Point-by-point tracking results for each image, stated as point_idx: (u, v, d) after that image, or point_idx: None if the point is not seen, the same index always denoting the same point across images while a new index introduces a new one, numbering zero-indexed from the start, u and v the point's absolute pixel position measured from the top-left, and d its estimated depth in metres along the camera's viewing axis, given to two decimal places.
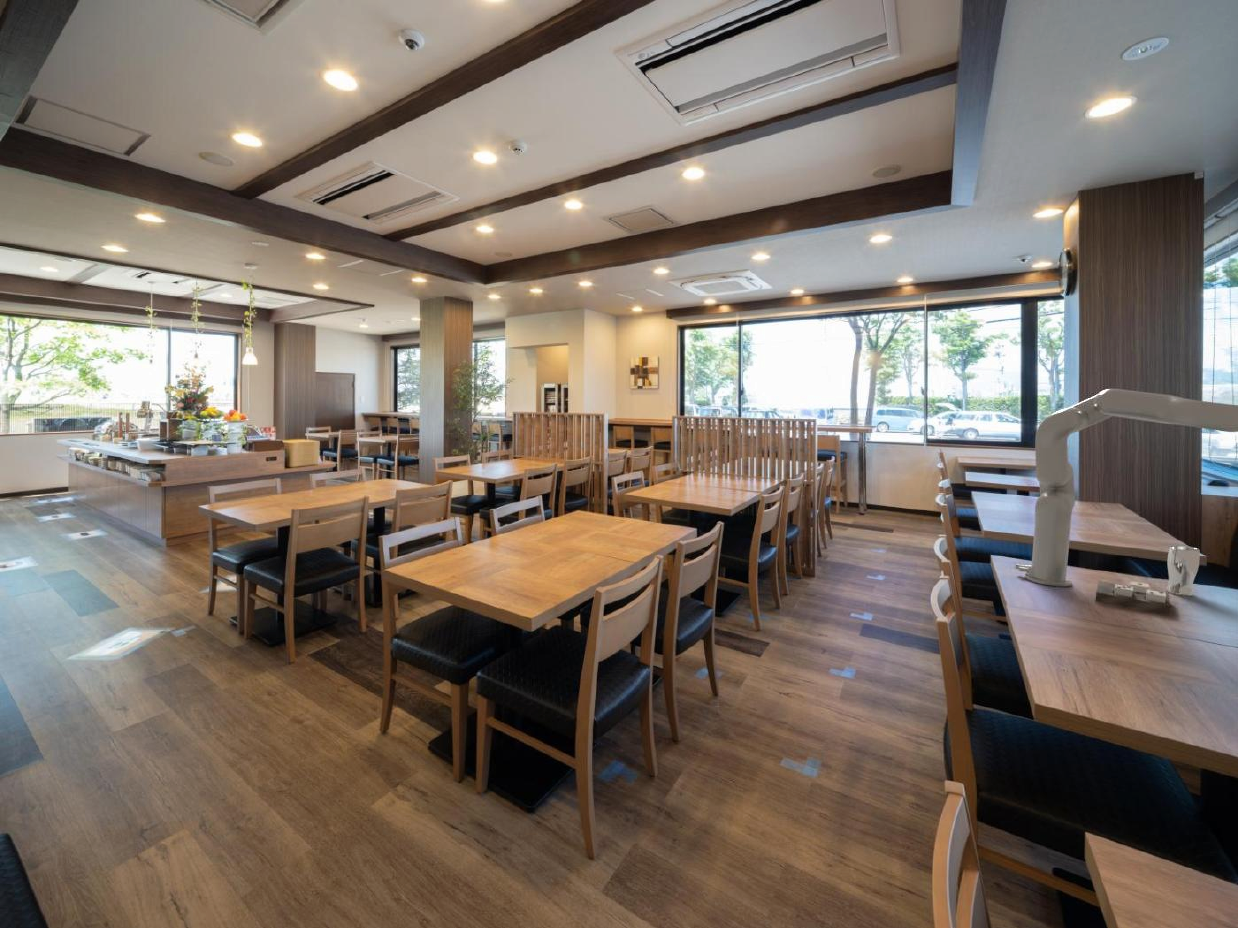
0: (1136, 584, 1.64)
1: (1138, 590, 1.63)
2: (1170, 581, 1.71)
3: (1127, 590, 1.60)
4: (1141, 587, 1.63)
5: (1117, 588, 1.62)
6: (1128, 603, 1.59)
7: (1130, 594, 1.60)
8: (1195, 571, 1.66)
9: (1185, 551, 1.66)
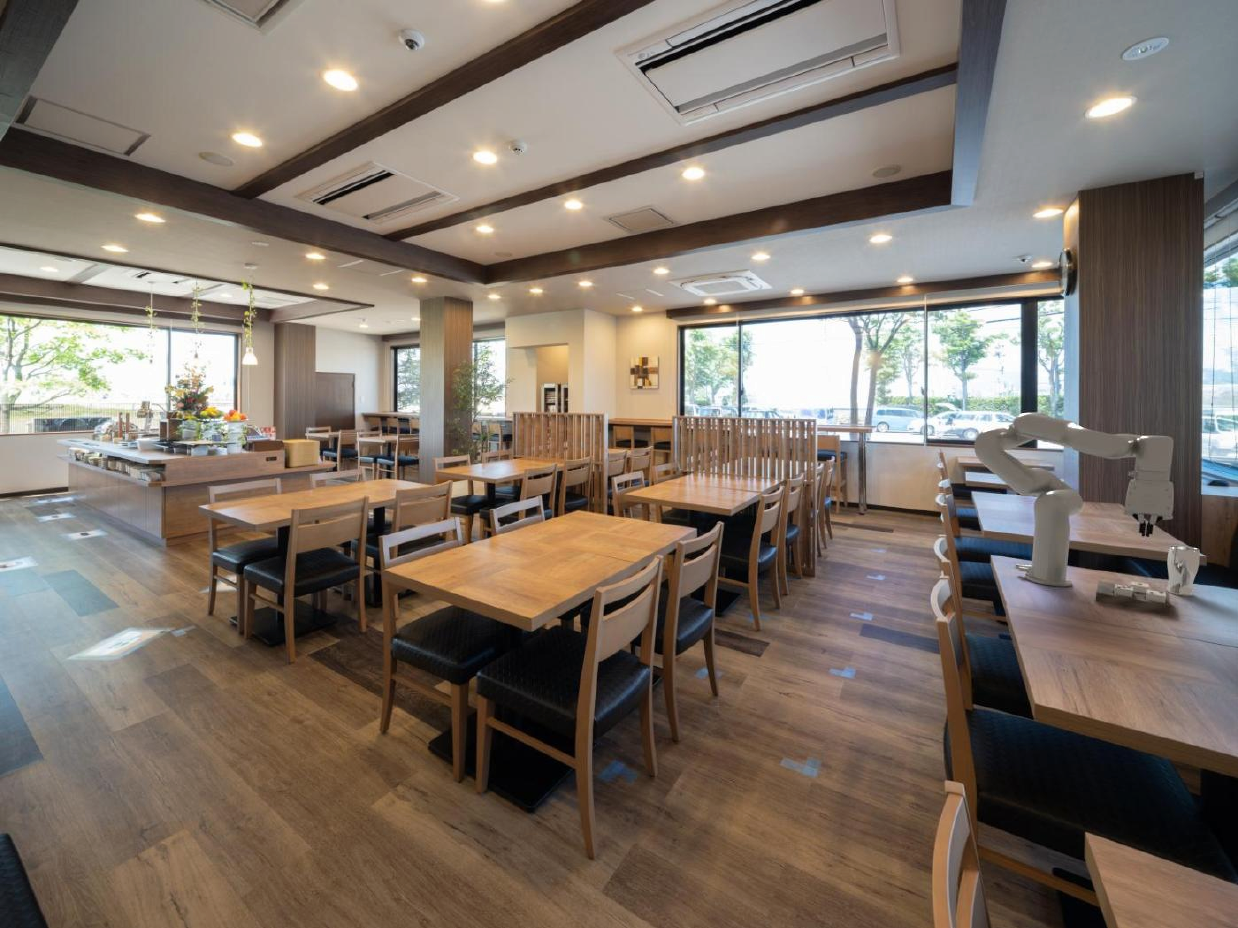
0: (1136, 584, 1.64)
1: (1138, 590, 1.63)
2: (1170, 581, 1.71)
3: (1127, 590, 1.60)
4: (1141, 587, 1.63)
5: (1117, 588, 1.62)
6: (1128, 603, 1.59)
7: (1130, 594, 1.60)
8: (1195, 571, 1.66)
9: (1185, 551, 1.66)
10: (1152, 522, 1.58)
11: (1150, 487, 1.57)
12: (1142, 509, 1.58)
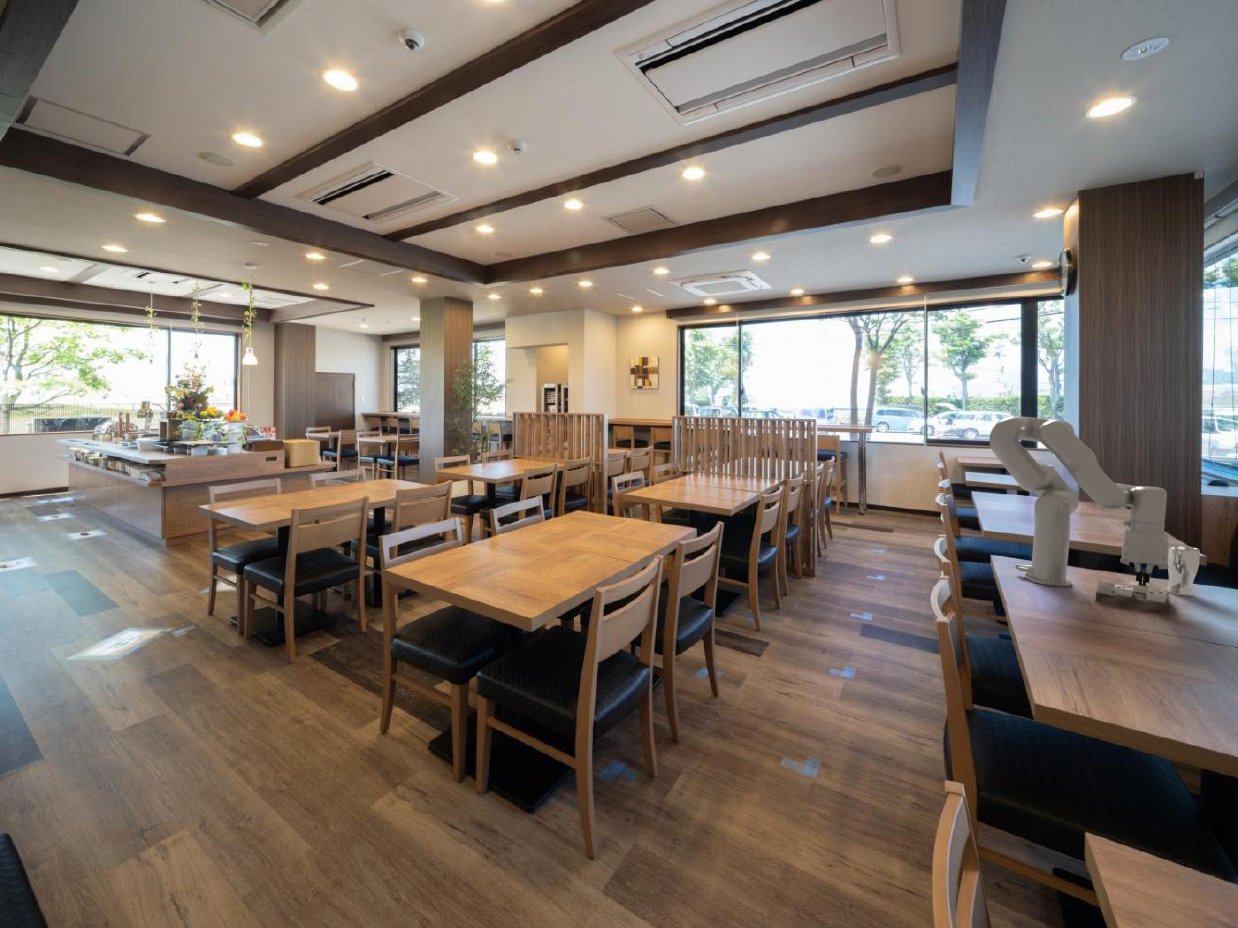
0: (1136, 584, 1.64)
1: (1138, 590, 1.63)
2: (1170, 581, 1.71)
3: (1127, 590, 1.60)
4: (1141, 587, 1.63)
5: (1117, 588, 1.62)
6: (1128, 603, 1.59)
7: (1130, 594, 1.60)
8: (1195, 571, 1.66)
9: (1185, 551, 1.66)
10: (1148, 571, 1.62)
11: (1145, 538, 1.61)
12: (1138, 558, 1.62)
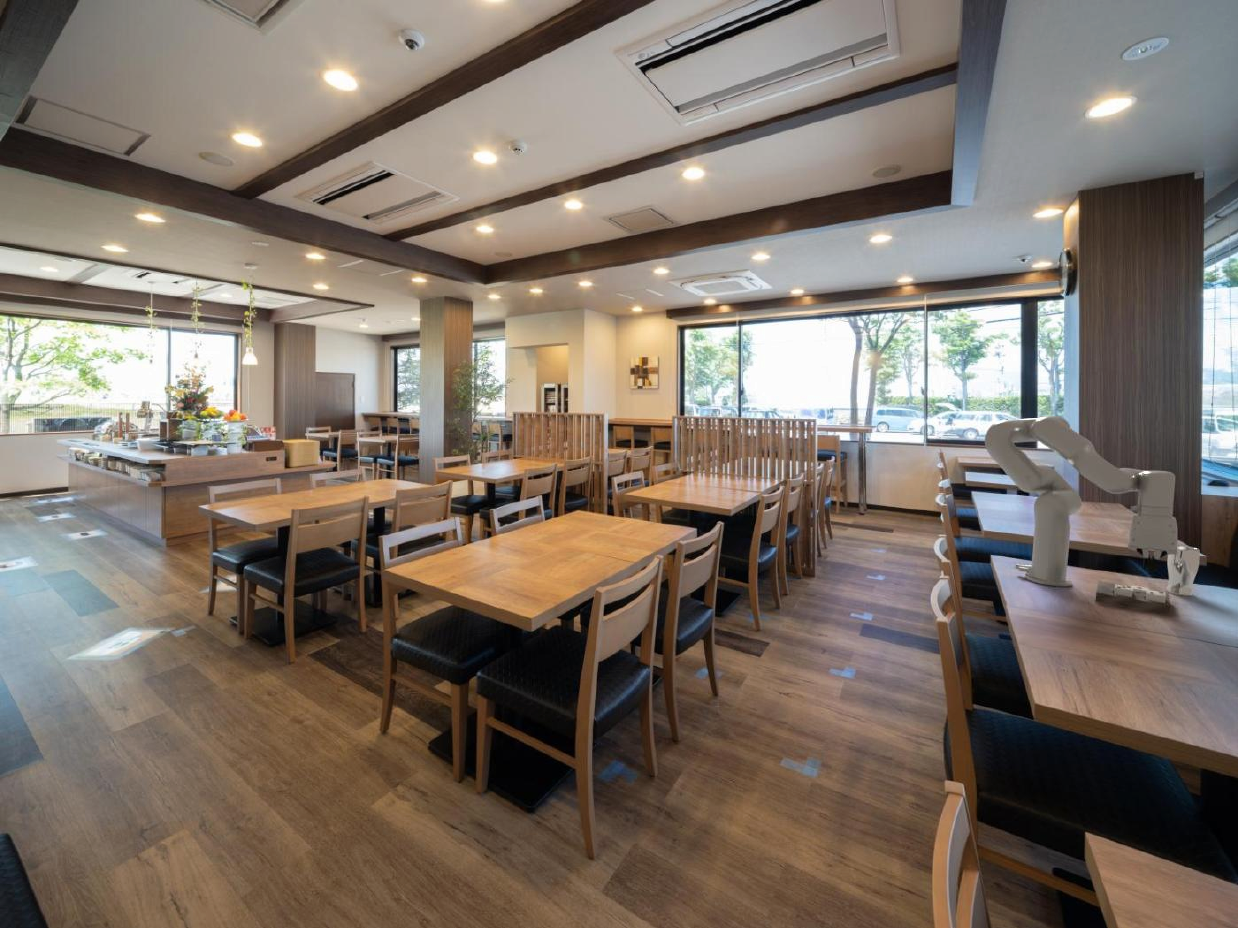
0: (1136, 588, 1.64)
1: None
2: (1170, 581, 1.71)
3: (1127, 590, 1.60)
4: (1141, 591, 1.63)
5: (1117, 588, 1.62)
6: (1128, 603, 1.59)
7: (1130, 594, 1.60)
8: (1195, 571, 1.66)
9: (1185, 551, 1.66)
10: (1157, 557, 1.59)
11: (1154, 523, 1.57)
12: (1146, 544, 1.59)
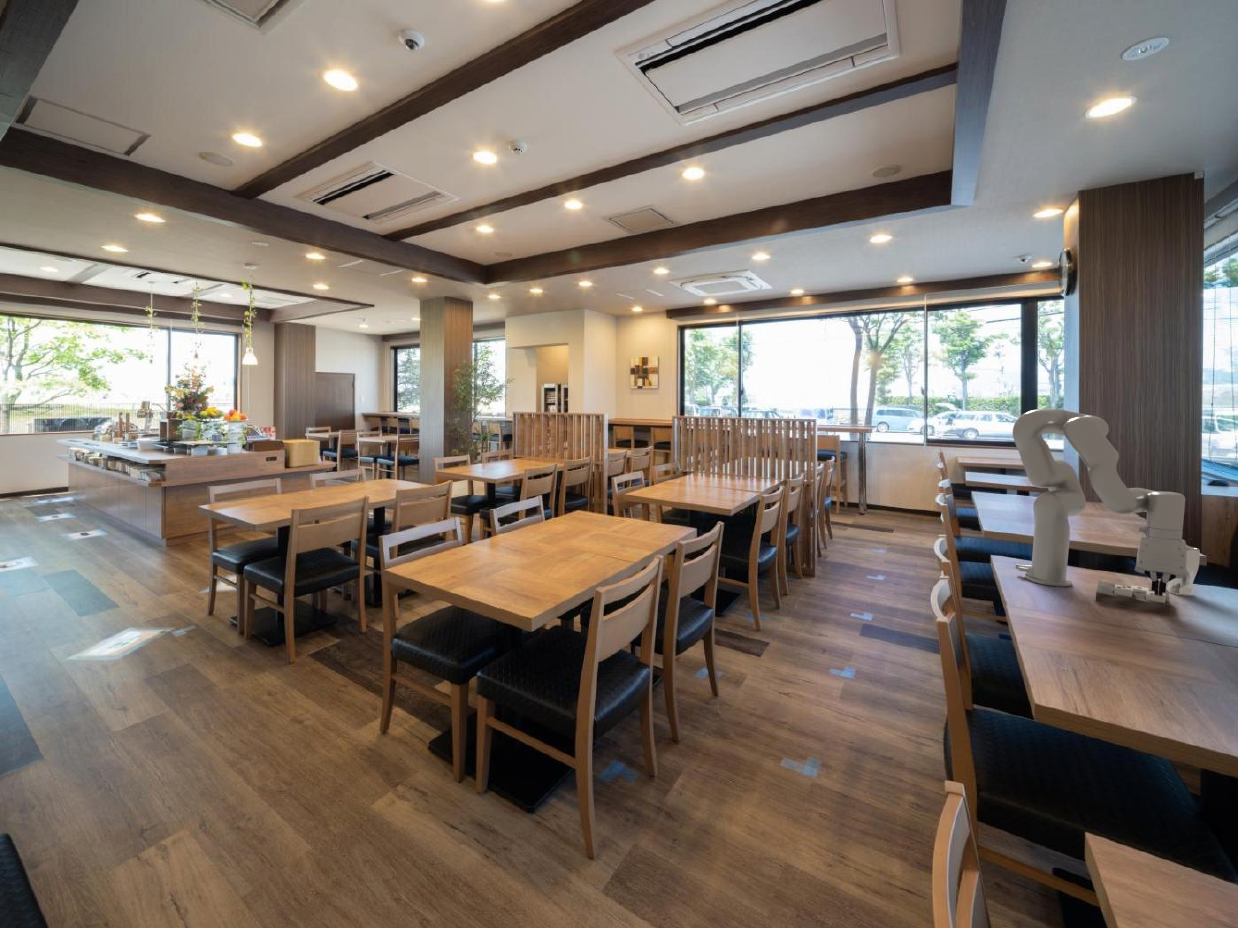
0: (1136, 588, 1.64)
1: None
2: (1170, 581, 1.71)
3: (1127, 590, 1.60)
4: (1141, 591, 1.63)
5: (1117, 588, 1.62)
6: (1128, 603, 1.59)
7: (1130, 594, 1.60)
8: (1195, 571, 1.66)
9: None
10: (1165, 580, 1.54)
11: (1162, 545, 1.53)
12: (1154, 567, 1.55)
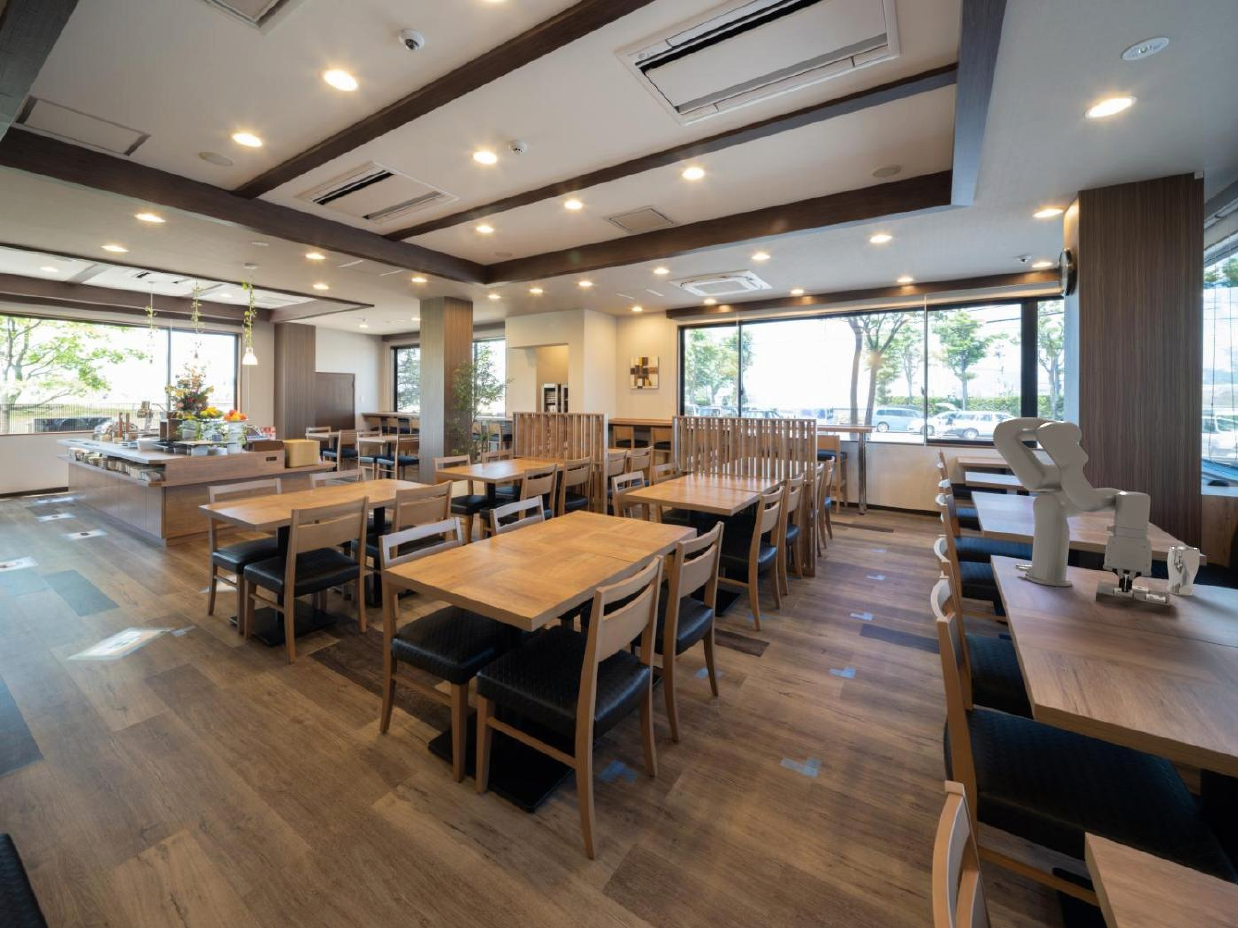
0: (1136, 588, 1.64)
1: None
2: (1170, 581, 1.71)
3: (1127, 594, 1.60)
4: (1141, 591, 1.63)
5: (1117, 592, 1.62)
6: (1128, 603, 1.59)
7: None
8: (1195, 571, 1.66)
9: (1185, 551, 1.66)
10: (1131, 578, 1.60)
11: (1128, 544, 1.58)
12: (1121, 565, 1.60)
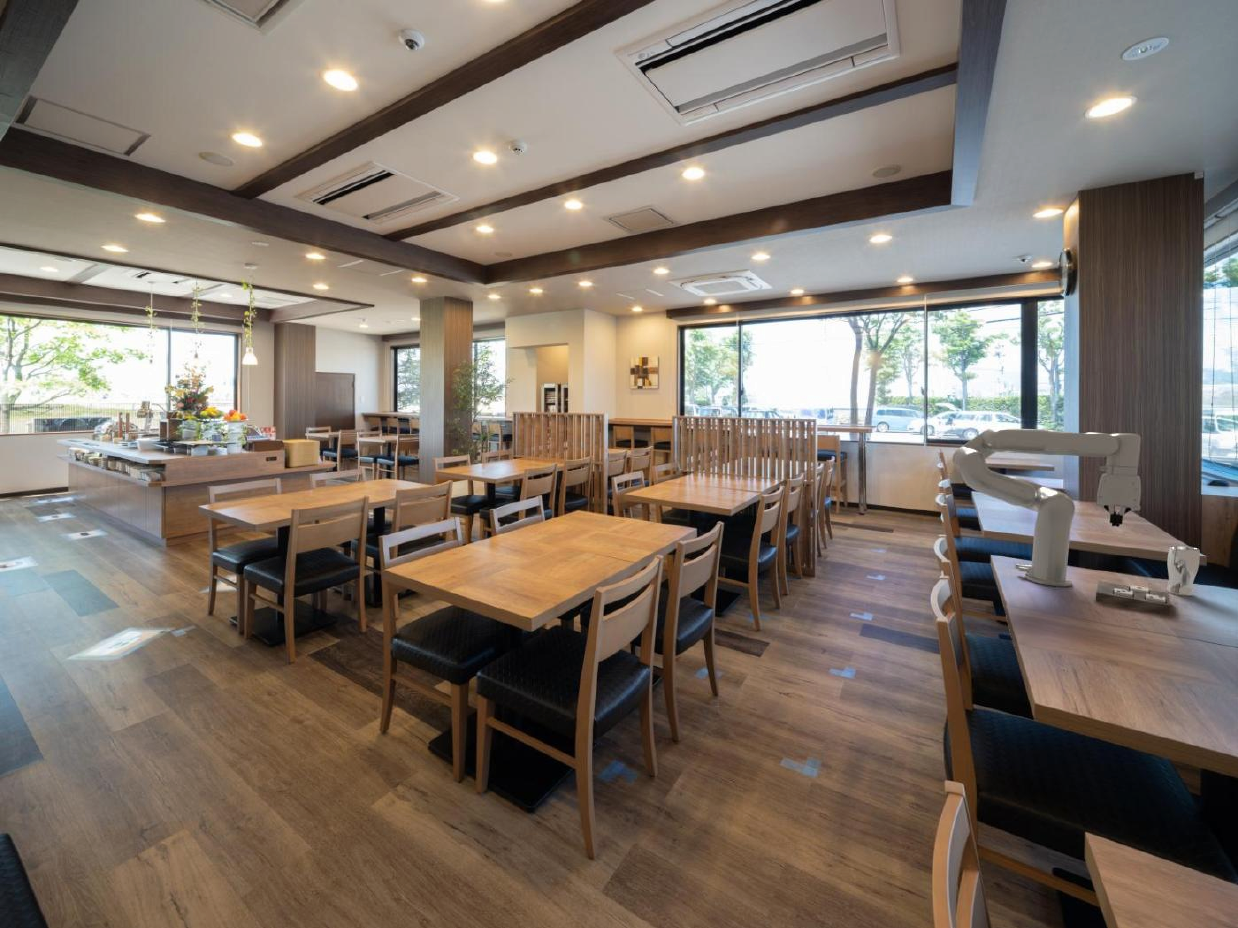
0: (1136, 588, 1.64)
1: None
2: (1170, 581, 1.71)
3: (1127, 594, 1.60)
4: (1141, 591, 1.63)
5: (1117, 592, 1.62)
6: (1128, 603, 1.59)
7: None
8: (1195, 571, 1.66)
9: (1185, 551, 1.66)
10: (1121, 513, 1.72)
11: (1119, 481, 1.71)
12: (1111, 501, 1.72)
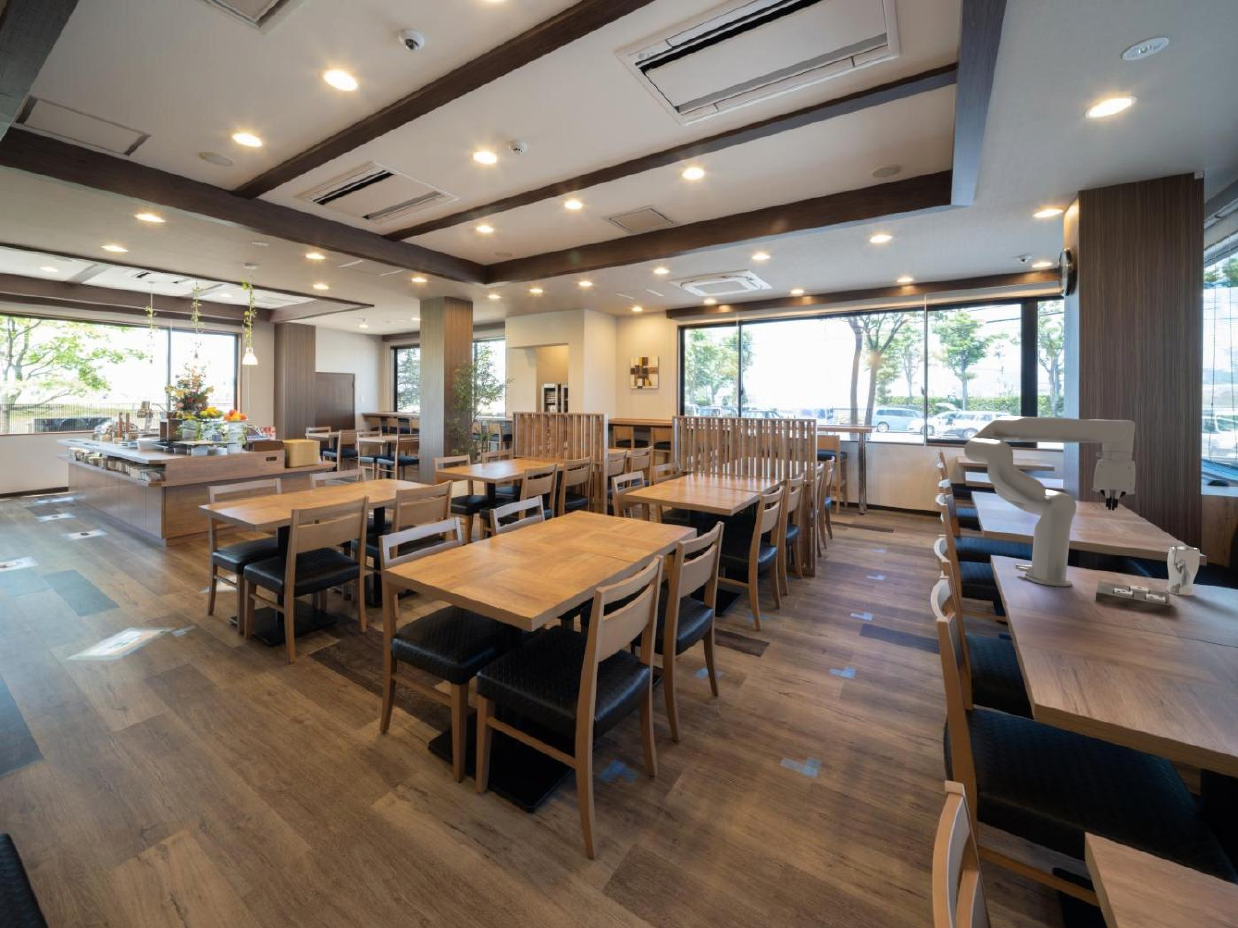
0: (1136, 588, 1.64)
1: None
2: (1170, 581, 1.71)
3: (1127, 594, 1.60)
4: (1141, 591, 1.63)
5: (1117, 592, 1.62)
6: (1128, 603, 1.59)
7: None
8: (1195, 571, 1.66)
9: (1185, 551, 1.66)
10: (1117, 497, 1.78)
11: (1115, 466, 1.76)
12: (1108, 485, 1.78)
